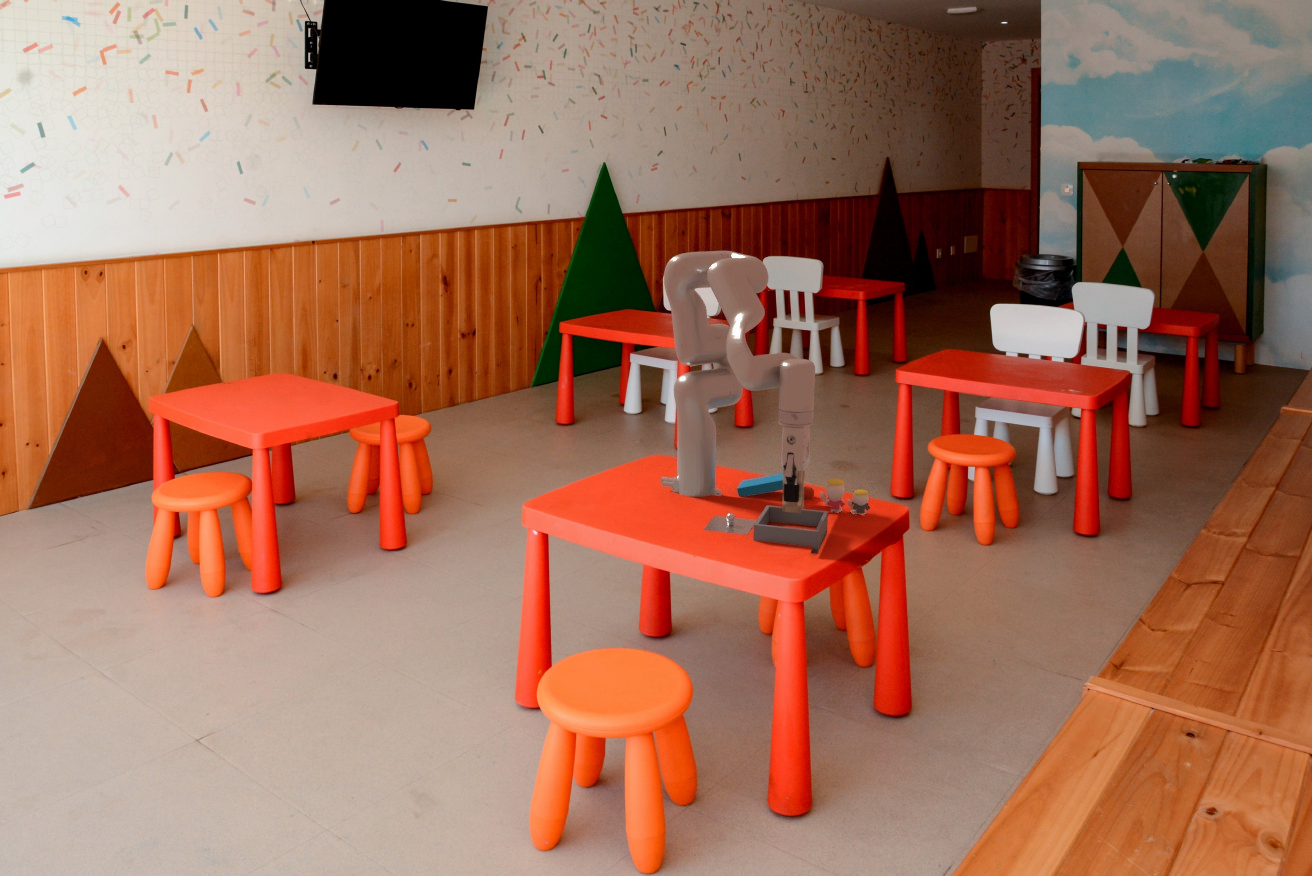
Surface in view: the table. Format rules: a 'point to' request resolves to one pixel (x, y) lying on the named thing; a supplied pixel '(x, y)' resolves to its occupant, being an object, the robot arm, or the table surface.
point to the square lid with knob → (730, 524)
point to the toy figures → (836, 492)
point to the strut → (798, 506)
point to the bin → (792, 534)
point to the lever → (767, 486)
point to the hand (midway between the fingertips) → (793, 497)
